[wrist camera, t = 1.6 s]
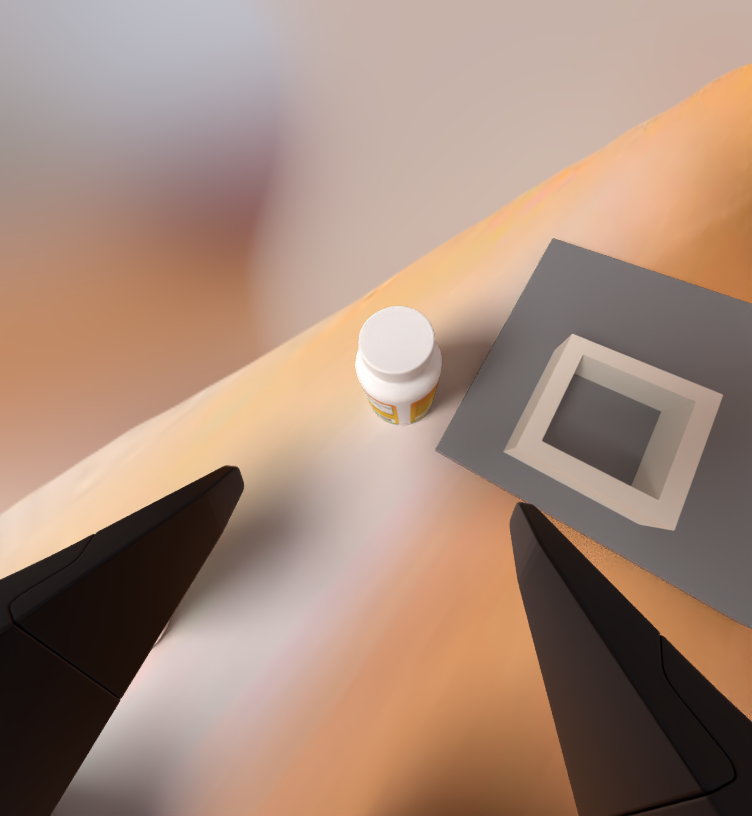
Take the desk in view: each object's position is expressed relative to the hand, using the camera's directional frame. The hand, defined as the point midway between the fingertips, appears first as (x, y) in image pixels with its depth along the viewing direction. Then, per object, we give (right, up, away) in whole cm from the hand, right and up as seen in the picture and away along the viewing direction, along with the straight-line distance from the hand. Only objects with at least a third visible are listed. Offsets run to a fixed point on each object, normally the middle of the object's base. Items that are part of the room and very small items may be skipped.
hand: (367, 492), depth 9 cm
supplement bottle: (+2, +4, +15) cm, 15 cm away
